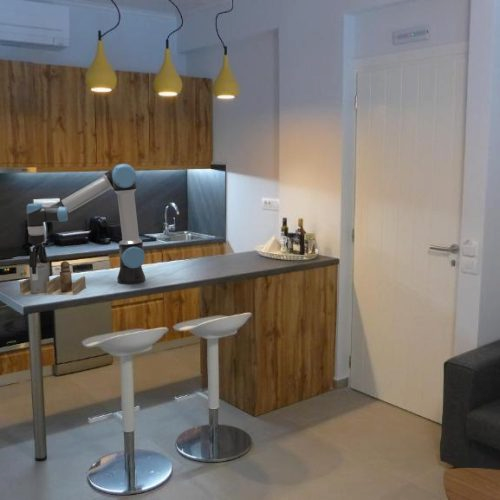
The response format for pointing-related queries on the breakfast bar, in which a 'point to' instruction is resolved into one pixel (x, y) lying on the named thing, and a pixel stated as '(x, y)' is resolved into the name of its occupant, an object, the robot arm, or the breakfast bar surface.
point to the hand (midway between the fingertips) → (39, 277)
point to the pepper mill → (65, 277)
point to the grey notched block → (39, 279)
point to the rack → (53, 287)
